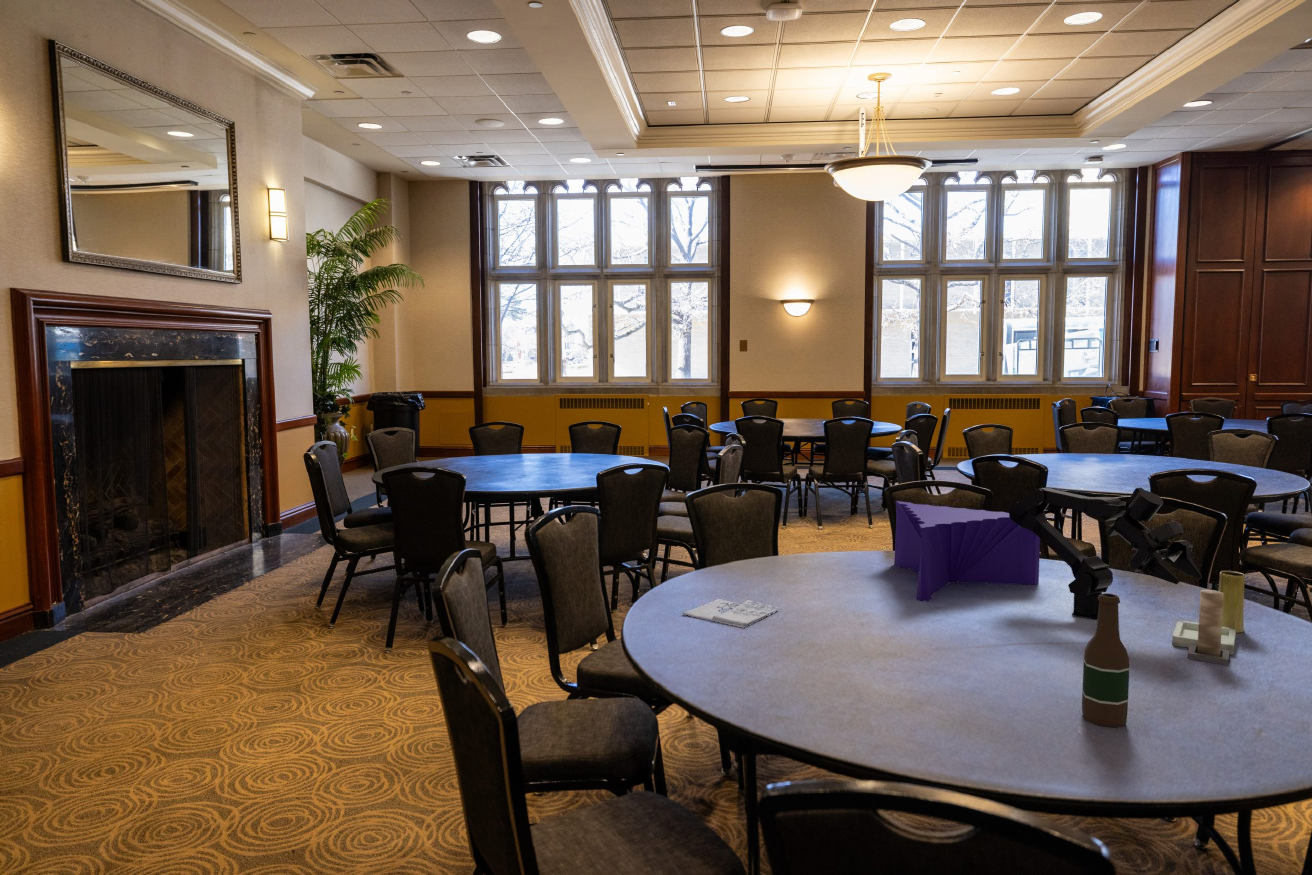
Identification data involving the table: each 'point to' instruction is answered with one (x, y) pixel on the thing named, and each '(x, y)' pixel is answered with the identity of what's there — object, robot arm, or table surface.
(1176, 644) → the tray
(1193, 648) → the holder
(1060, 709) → the table surface
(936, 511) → the purple jagged triangular block
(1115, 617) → the beer bottle
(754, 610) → the white square relief plate
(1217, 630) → the dowel
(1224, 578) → the vase
